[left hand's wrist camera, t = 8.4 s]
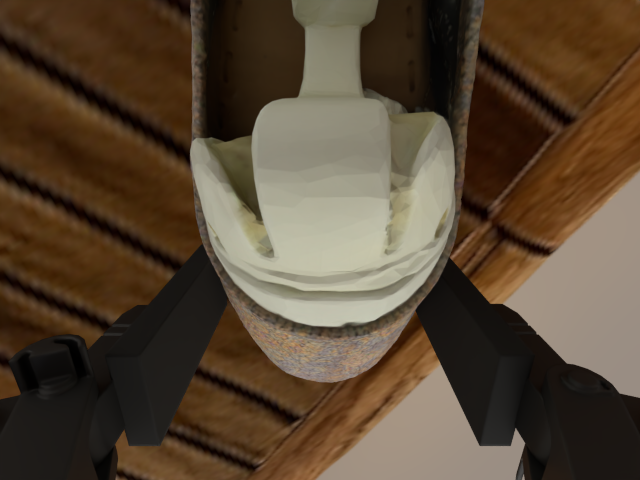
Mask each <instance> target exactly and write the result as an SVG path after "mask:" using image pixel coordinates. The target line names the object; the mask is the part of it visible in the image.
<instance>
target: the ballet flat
mask: <svg viewBox="0 0 640 480" xmlns="http://www.w3.org/2000/svg"><path fill="white" fill-rule="evenodd" d="M483 8H484V0H191V26H192V76H193V79H192V85H193V87H192V90H193V101H192V114H193V116H192V119H193V121H192V142H191V150H190V162H191V171H192V179H193V187H194V199H195V211H196V218H197V223H198V227H199V231H200V235H201V238H202V241H203V245H204V247H205V250H206V252H207V254H208V256H209V258H210V260H211V263H212V265H213V266H214V268H215V270H216V272H217V274H218V276H219V277H220V280H221V282H222V285H223V287H224V290H225V292H226V294H227V296H228V298H229V300H230V302H231V304H232V305H233V307H234V308H235V310H236V312H237V313H238V315H239V317H240V319H241V320H242V322H243V324H244V326H245V328H246V329H247V330H248V331H249V333H250V335H251V336H252V338H253V339H254V340H255V341H256V343H257V344H258V345H259V347H260V348H261V349H262V350H263V351H264V353H265V354H266V355H267V356H268V357H269V359H270V360H271V361H272V362H273V363H275V364H276V365H277V366H278V367H279V368H281V369H282V370H284V371H285V372H287V373H289V374H291V375H294V376H297V377H300V378H304V379H307V380H313V381H318V382H337V381H341V380H345V379H348V378H352V377H355V376H357V375H358V374H360V373H362V372H364V371H367V370H368V369H370V368H371V367H372V366H374V365H375V364H376V363H377V362H378V361H379V360H380V359H381V358H382V356H383V355H384V354H385V353H386V352H387V351H388V349H389V348H390V347H391V346H392V344H393V343H394V342H395V341H396V340H397V338H398V337H399V335H400V333H401V332H402V330H403V329H404V327H405V326H406V325H407V323H408V322H409V320H410V318H411V317H412V315H413V314H414V312H415V310H416V308H417V307H418V305H419V304H420V303H421V302H422V300H423V299H424V298H425V297H426V296H427V295H428V293H429V292H430V291H431V290H432V288H433V287H434V285H435V284H436V283H437V281H438V279H439V277H440V275H441V273H442V271H443V269H444V267H445V265H446V263H447V260H448V258H449V255H450V253H451V251H452V248H453V246H454V242H455V238H456V234H457V228H458V220H459V217H460V209H461V196H462V189H463V181H464V165H465V155H466V148H467V139H466V138H467V125H468V117H469V109H470V103H471V94H472V90H473V82H474V78H475V67H476V58H477V53H478V41H479V30H480V26H481V21H482V15H483Z"/></svg>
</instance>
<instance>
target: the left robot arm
mask: <svg viewBox="0 0 640 480" xmlns="http://www.w3.org/2000/svg"><path fill="white" fill-rule="evenodd" d="M226 306H227V298H226V292H225V290H224V287H223V285H222V282H221V280H220V277H219V276H218V274H217V272H216V270H215V268H214V266H213V265H212V263H211V260H210V258H209V256H208V254H207V252H206V250H205V247H204V245H201V246H200V247H199V248H198V249H197V250H196V251H195V252H194V254H193V255H192V256H191V257H190V258H189V259H188V260H187V262H186V263H185V264H184V265H183V266H182V267H181V268H180V270H179V271H178V272H177V273H176V274H175V275H174V276H173V278H172V279H171V280H170V281H169V282H168V283H167V284H166V286H165V287H164V288H163V289H162V290H161V291H160V292H159V294H158V295H157V296H156V297H155V298H154V299H153V300H152V302H151V303H150V304H149V305H137V306H135V307H134V308H132V309H130V310H129V311H127V312H125V313H124V314H122V315H121V316H120V317H119V318H118V319H117V320H116V321H115V322H114V323H113V324H112V327H110V328H109V329H108V330H107V331H106V332H105V333H104V335H103V336H101V337H100V338H99V339H98V340H97V341H96V342H95V343H94V344H93V345H92V346H91V347H90V348H89V349H88V350H87V347H86V343H85V340H84V339H83V338H82V337H80V336H79V335H71V334H66V335H58V336H53V337H50V338H46V339H43V340H40V341H38V342H36V343H33V344H31V345H29V346H27V347H26V348H24V349H22V350H21V351H19V352H18V353H16V354H15V355H14V357H13V358H12V359H11V360H10V361H9V364H10V367H11V369H12V372H13V374H14V377H15V380H16V382H17V385H18V387H19V390H20V392H21V395H19V396H14V397H10V398H5V399H1V400H0V480H115V478H116V470H117V463H118V455H117V450H116V446H115V443H116V442H117V440H118V438H119V437H120V435H121V433H122V432H123V430H124V429H125V433H126V436H127V440H128V444H129V446H160V445H161V443H162V441H163V438H164V436H165V434H166V432H167V430H168V428H169V426H170V424H171V422H172V419H173V417H174V415H175V413H176V411H177V409H178V407H179V405H180V403H181V401H182V398H183V396H184V394H185V392H186V390H187V388H188V386H189V384H190V382H191V379H192V377H193V375H194V373H195V371H196V369H197V367H198V365H199V363H200V361H201V358H202V356H203V354H204V352H205V350H206V348H207V346H208V344H209V342H210V339H211V337H212V335H213V333H214V331H215V329H216V327H217V325H218V323H219V321H220V318H221V316H222V314H223V312H224V310H225V308H226ZM415 311H416V313H417V315H418V317H419V319H420V321H421V323H422V325H423V327H424V330H425V332H426V334H427V336H428V338H429V340H430V342H431V344H432V346H433V349H434V351H435V353H436V355H437V357H438V359H439V361H440V363H441V365H442V367H443V370H444V372H445V374H446V376H447V378H448V380H449V382H450V384H451V386H452V389H453V391H454V393H455V395H456V397H457V399H458V401H459V403H460V405H461V407H462V409H463V412H464V414H465V416H466V418H467V420H468V422H469V424H470V426H471V428H472V431H473V433H474V435H475V437H476V439H477V441H478V443H479V445H480V446H511V443H512V439H513V435H514V431H515V428H516V429H517V430H518V432H519V434H520V435H521V437H522V438H523V440H524V442H525V446H524V450H523V453H522V457H521V460H520V463H519V467H518V470H517V474H516V480H522V477H523V474H524V477H525V480H640V398H638V397H633V396H628V395H624V394H620V393H619V392H618V391H617V390H616V388H615V387H614V386H613V385H612V384H611V383H610V382H609V381H607V380H606V379H605V378H603V377H602V376H600V375H599V374H597V373H595V372H593V371H591V370H589V369H586V368H583V367H580V366H577V365H573V364H567V363H566V362H565V361H564V360H563V359H562V358H561V357H560V356H559V355H558V354H557V353H556V352H555V351H554V350H553V349H552V348H551V347H550V346H549V345H548V344H547V343H546V342H545V341H544V340H543V339H542V338H541V337H540V336H539V335H537V334H536V331H535V330H534V329H533V328H532V327H531V326H528V323H527V322H526V321H525V320H524V319H523V318H522V317H521V316H520V315H519V314H518V313H517V312H515V311H513V310H512V309H510V308H508V307H507V306H505V305H503V304H490V303H489V302H488V301H487V300H486V298H485V297H484V296H483V295H482V294H481V293H480V292H479V290H478V289H477V288H476V287H475V286H474V285H473V284H472V282H471V281H470V280H469V279H468V278H467V277H466V276H465V275H464V273H463V272H462V271H461V270H460V269H459V268H458V267H457V265H456V264H455V263H454V262H453V261H452V260H451V259H450V257H449V258H448V260H447V263H446V265H445V267H444V269H443V271H442V273H441V275H440V277H439V279H438V281H437V283H436V284H435V285H434V287H433V288H432V290H431V291H430V292H429V293H428V295H427V296H426V297H425V298H424V299H423V300H422V302H421V303H420V304H419V305H418V307H417V308H416V310H415Z"/></svg>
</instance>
